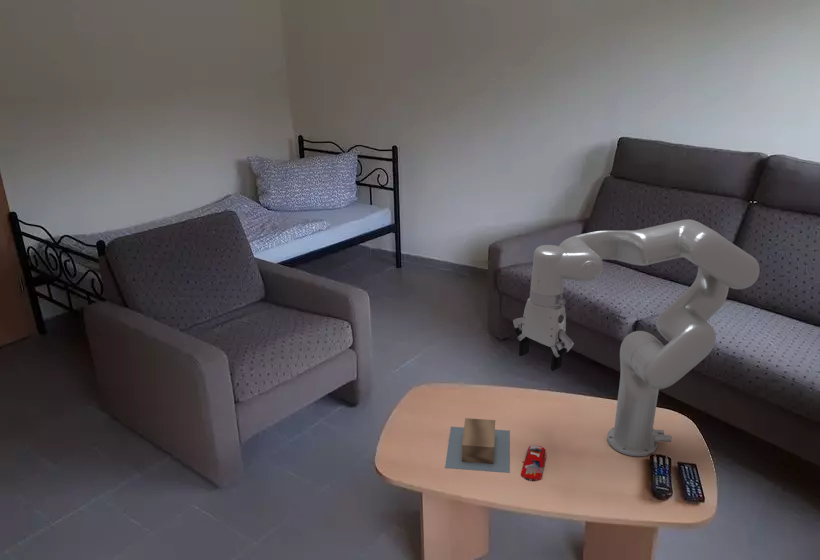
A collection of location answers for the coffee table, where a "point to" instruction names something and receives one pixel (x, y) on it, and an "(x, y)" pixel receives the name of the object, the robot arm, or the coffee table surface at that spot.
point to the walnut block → (478, 441)
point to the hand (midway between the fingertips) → (539, 361)
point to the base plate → (499, 463)
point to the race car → (534, 463)
